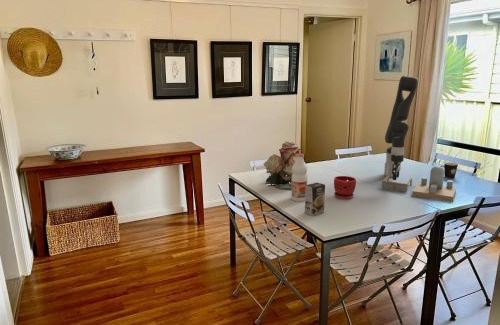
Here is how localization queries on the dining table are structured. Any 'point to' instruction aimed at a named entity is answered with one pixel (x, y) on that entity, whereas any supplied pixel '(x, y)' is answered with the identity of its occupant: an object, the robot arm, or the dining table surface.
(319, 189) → the coffee box
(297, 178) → the fruit juice
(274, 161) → the rose bouquet
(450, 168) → the coffee mug
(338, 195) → the plant pot
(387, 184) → the thin wooden rail frame
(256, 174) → the dining table surface
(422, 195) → the wooden peg board
